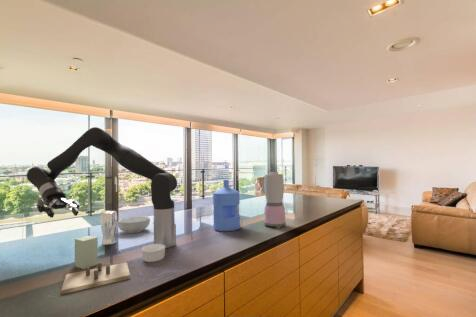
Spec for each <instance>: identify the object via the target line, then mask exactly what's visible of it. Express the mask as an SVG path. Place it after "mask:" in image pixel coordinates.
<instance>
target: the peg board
mask: <svg viewBox="0 0 476 317" xmlns="http://www.w3.org/2000/svg"><path fill="white" fill-rule="evenodd" d="M102 265H103V263H102V262H98V264H97V267H96V268H92V269H91V267H86V269H84V270H81V271H76V272H71V273H66V275H65V278H64V281H63V284H62V286H61V290H60V295H66V294H70V293H75V292H78V291H83V290H86V289H91V288H96V287H99V286H104V285H108V284H112V283H116V282H121V281H126V280H129V279H131V273H130V271H129V266H128V262H125V261H124V262H121V263H117V264H116V263H115V264H112V265H111V264H110V265H109V264H108V265H106V266H102Z"/></svg>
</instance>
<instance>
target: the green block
mask: <svg viewBox="0 0 476 317" xmlns="http://www.w3.org/2000/svg"><path fill="white" fill-rule="evenodd" d="M98 239H99V238H98V236H93V235H86V236H85V235H84V236H82V237H76V238H74V267H76V268H79V269H82V270H86V267H90V268H91V267H93V266H96V265H97V266H98V263H99V260H98V256H99V254H98V252H99V251H98V248H99V247H98V246H99V242H98Z"/></svg>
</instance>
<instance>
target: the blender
mask: <svg viewBox="0 0 476 317" xmlns="http://www.w3.org/2000/svg"><path fill="white" fill-rule="evenodd" d="M284 186H285V184H284V174H282V173H279V171H269V173H265V174H264V176H263V177H262V178H261V191H262V193H263V194H264V195H265V199H266V200H265V201H266V204H265V207H264V226H265V227H267V226H269V227H275V228H276V229H280V228H281V227H286V223H287V222H286V209H285V208H286V207H285V206H284V203H283V202H284V201H283V199H284V193H285V188H284Z"/></svg>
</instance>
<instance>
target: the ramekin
mask: <svg viewBox="0 0 476 317" xmlns="http://www.w3.org/2000/svg"><path fill="white" fill-rule="evenodd" d="M165 247H166V246H165V245H163V244H154V243H151V244H148V245H145V246H143V247H142V248H141V252H142V259H143V261H144V262H145V263H154V262H157V261H161V260H162V259H164V258H165V254H166V253H165V252H166V248H165Z"/></svg>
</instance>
